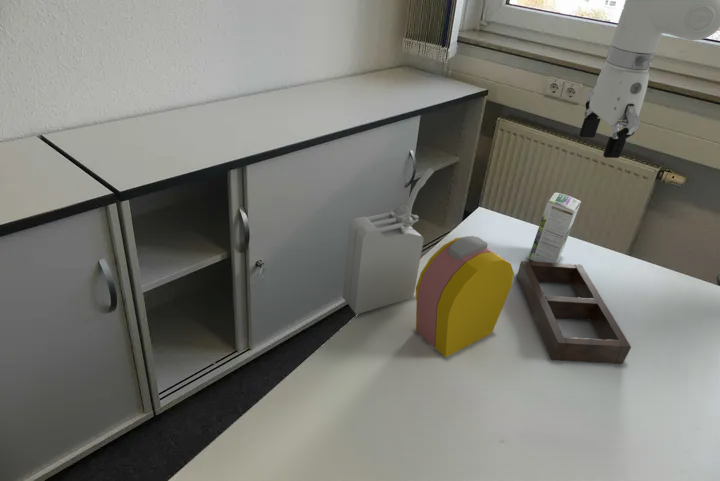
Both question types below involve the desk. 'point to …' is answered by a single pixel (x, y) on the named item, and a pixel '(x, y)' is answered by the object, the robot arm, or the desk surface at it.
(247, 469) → the desk surface
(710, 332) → the desk surface
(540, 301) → the open brown box
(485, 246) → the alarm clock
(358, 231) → the fuel canister
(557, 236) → the syrup box
